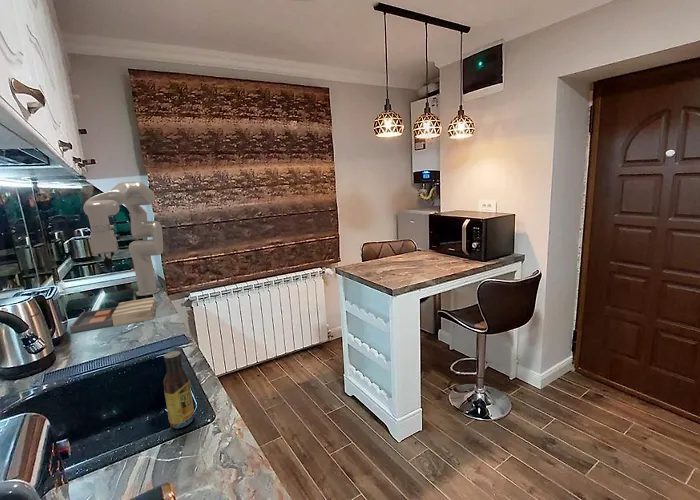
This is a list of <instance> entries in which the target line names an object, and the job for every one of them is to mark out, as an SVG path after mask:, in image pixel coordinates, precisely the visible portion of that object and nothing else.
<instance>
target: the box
mask: <svg viewBox="0 0 700 500" xmlns="http://www.w3.org/2000/svg"><path fill="white" fill-rule="evenodd" d="M116 308H117V306H115V307H108V308H101V309H96V310H89V311H85V312H83V311H82V312H81V314H80V315H79V316H77V318H76V319H75V321H73V323H72V324H71V325H70V326H69V331H70V334H77V333H83V332H87V331H93V330H98V329H103V328H111V327H114V325H113V320H112V315H111V317H110V318H108V319H107V321H101V322H95V323H89V322H90V320H91V319H93V318H94V315H95V314H96V312H99V311H105V310H111V311H112V314H113V313H114V311H115V310H116ZM88 323H89V324H88Z"/></svg>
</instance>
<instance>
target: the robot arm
mask: <svg viewBox="0 0 700 500" xmlns="http://www.w3.org/2000/svg"><path fill="white" fill-rule="evenodd" d="M155 201H156V196H155V194H154V192H153V190H152V189H150V188H149V187H148V186H147V185H146V184H145V183H143V182H141V181H122V182H120V183H117V184H116V185H115V186H114V187H113V188H111V189H110V190H108V191H105V192H102V193H99V194H97V195H94V196H91V197H90V198H88V199H87V200H86V201H85V202H84V203H83V206H82V207H83V212H84V213H85V215H87V218H88V221H89V226H90V231H91V232H90V235H89V236H90V237H89V240H90V248H91V252H92V256H93V257H99V258H101V259H102V260H103V264H104V266H106V268H110V267H112V265H114V264H113V263H114V262H113V259H112V258H113V256H114V255H117V254H120V249H119V244H118V239H117V237H116V234H115V231H114V230H113V229H114V227H115V226H114V225H111V223H110V220H109V216H116V215H117V214H118V213H119V212H120V206H122V205H124V206H125V207H126V210H127V211H128V212H129V215H130V232H131V235H132V238H135V239H139V240H134V241H132V242H130V243H129V245H128V251H129V253H130V256H131V259H132V263H133V268H134V273H135V277H136V278H135V279H136V283H137V288H138V290H137V291H135V295H136V296H140V297H143V296H144V297H146V296H149V295H150V296H151V295H154V294H157V293H159V292H160V291H161V288H160V287H157V282H156V277H155V271H154V264H153V261H152V260H151V259H150V258H149V256H150V257H153V256H160V255H162V254H163V252H164V239H163V237H164V235H163V226H162V224H161V223H160V222H159V221H157V220H148V213H147V211H146V210H145V209H144V208H143V207H142V206H149V205H153V204H154V203H155ZM146 238H149V239H146ZM150 238H152V239H150ZM106 253H107V254H106Z"/></svg>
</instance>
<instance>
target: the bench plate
mask: <svg viewBox="0 0 700 500" xmlns="http://www.w3.org/2000/svg"><path fill="white" fill-rule="evenodd" d="M116 307H117V308H116V310H115V311H114V313H113V314H112V320H113V327H116V326H121V325H126V324H134V323H137V322H138V323H139V322H143V321H149V320H153V318H154V315H155V312H156V308H157V300H156V296H153V297H147V298H141V299H135V300H128V301H122V302H119V303H118V304H117V306H116Z"/></svg>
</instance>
